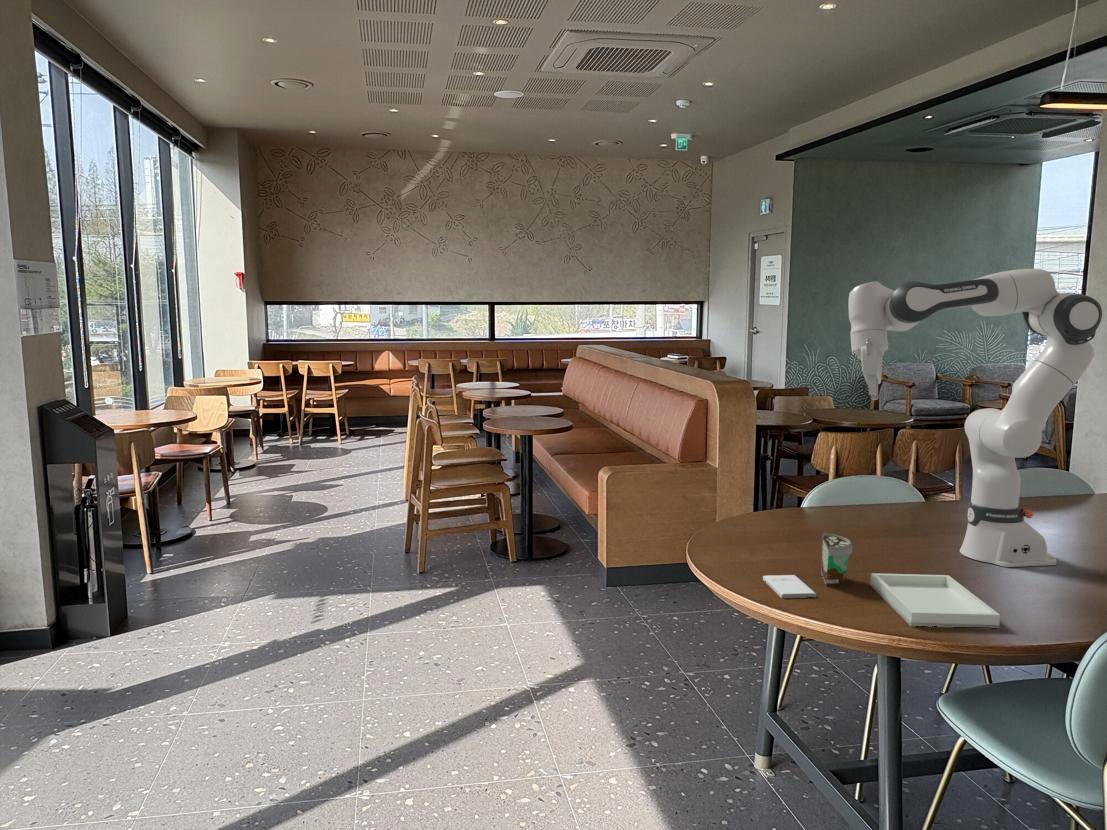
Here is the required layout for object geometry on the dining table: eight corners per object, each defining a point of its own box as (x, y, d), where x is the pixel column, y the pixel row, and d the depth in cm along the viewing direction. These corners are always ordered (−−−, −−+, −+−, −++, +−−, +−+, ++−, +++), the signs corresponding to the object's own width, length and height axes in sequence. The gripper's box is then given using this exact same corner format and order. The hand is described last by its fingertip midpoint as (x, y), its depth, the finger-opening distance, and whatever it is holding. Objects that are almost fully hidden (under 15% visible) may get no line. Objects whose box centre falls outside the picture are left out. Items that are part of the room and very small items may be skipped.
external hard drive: (781, 600, 181) (762, 581, 194) (816, 599, 182) (795, 580, 194) (781, 593, 181) (762, 575, 193) (816, 593, 182) (795, 574, 194)
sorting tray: (947, 587, 189) (948, 575, 189) (998, 628, 166) (1000, 614, 165) (870, 585, 190) (871, 573, 190) (910, 626, 166) (911, 612, 166)
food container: (854, 590, 187) (857, 549, 185) (826, 588, 188) (829, 547, 186) (846, 573, 199) (848, 534, 197) (820, 571, 200) (822, 532, 198)
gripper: (880, 335, 196) (885, 390, 194) (883, 349, 214) (888, 400, 213) (853, 338, 198) (858, 393, 197) (858, 352, 217) (863, 402, 215)
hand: (873, 397), depth 205 cm, fingers open, 8 cm apart
